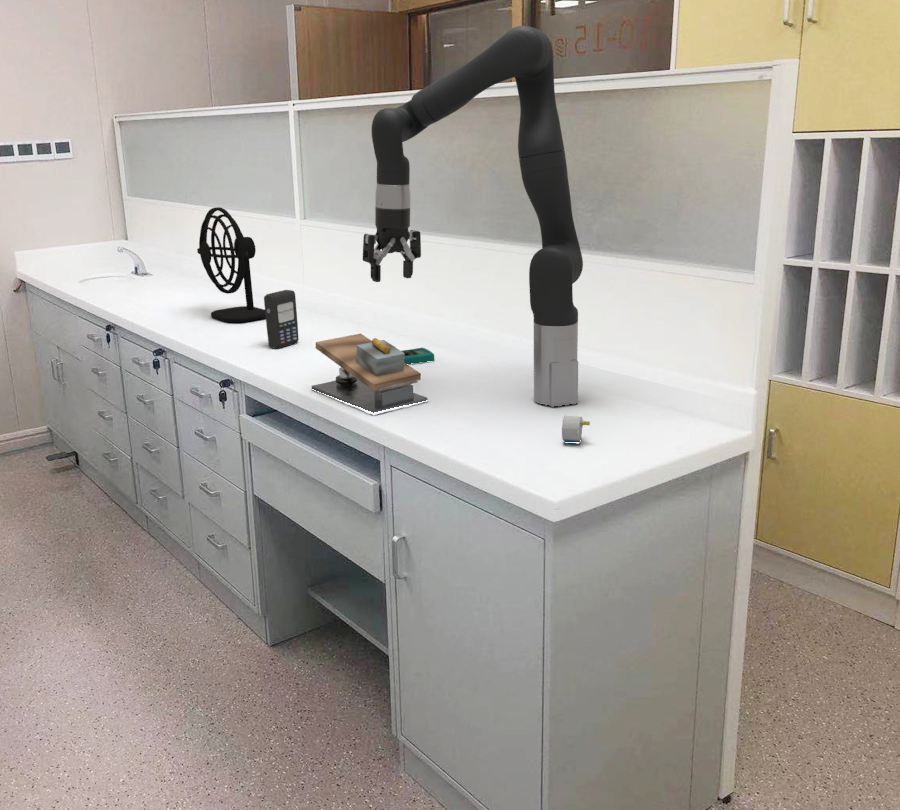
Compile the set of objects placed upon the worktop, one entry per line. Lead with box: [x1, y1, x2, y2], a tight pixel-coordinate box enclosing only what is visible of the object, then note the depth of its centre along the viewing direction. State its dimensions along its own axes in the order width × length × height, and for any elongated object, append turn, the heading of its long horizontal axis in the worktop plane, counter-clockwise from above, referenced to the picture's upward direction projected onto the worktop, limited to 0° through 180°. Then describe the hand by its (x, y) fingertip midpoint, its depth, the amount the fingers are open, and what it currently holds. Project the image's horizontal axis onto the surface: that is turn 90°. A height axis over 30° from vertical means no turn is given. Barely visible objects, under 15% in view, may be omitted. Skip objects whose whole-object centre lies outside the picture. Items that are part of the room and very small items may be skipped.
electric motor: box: [561, 415, 591, 443], centre depth 165 cm, size 7×5×5 cm
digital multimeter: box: [401, 347, 435, 364], centre depth 226 cm, size 7×15×3 cm, turn 114°
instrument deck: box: [315, 333, 422, 392], centre depth 195 cm, size 24×12×8 cm, turn 38°
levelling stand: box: [310, 367, 428, 413], centre depth 198 cm, size 26×14×5 cm, turn 38°
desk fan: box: [196, 206, 266, 323], centre depth 281 cm, size 27×18×35 cm, turn 40°
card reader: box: [263, 289, 299, 349], centre depth 245 cm, size 9×4×15 cm, turn 146°
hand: (392, 279), depth 197 cm, fingers open, 8 cm apart
